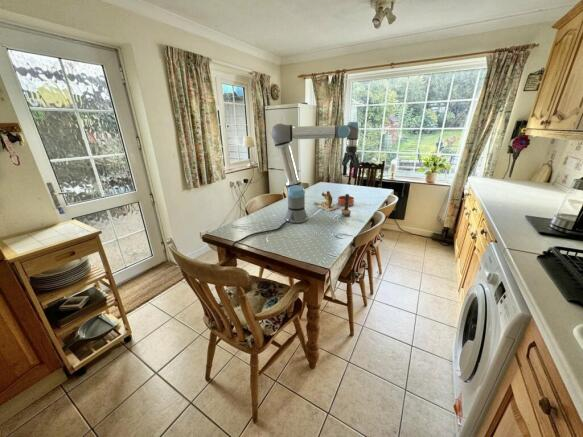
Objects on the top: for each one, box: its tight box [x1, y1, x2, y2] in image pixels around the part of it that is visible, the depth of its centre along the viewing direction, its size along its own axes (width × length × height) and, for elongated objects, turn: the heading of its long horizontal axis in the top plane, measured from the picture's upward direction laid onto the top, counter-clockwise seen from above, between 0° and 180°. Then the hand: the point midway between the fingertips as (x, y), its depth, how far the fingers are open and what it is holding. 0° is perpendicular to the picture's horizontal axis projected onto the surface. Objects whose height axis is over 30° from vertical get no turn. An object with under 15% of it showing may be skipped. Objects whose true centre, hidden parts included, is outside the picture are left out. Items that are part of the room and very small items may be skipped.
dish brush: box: [341, 193, 352, 218], centre depth 169 cm, size 6×4×16 cm
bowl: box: [337, 195, 355, 207], centre depth 196 cm, size 13×13×6 cm
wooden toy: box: [313, 190, 339, 212], centre depth 190 cm, size 22×10×14 cm, turn 37°
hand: (349, 176), depth 169 cm, fingers open, 13 cm apart
